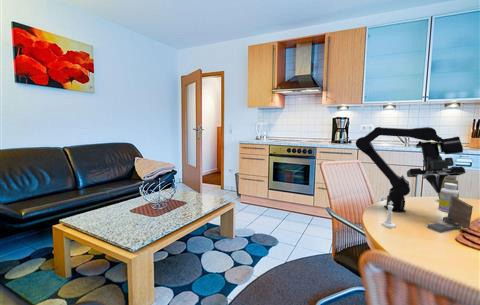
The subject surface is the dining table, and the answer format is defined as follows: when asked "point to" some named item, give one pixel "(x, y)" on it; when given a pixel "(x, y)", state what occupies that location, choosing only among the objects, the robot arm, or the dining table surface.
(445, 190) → the supplement bottle
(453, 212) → the walnut gate
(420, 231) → the dining table surface
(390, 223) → the chess piece
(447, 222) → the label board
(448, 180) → the squeeze bottle
